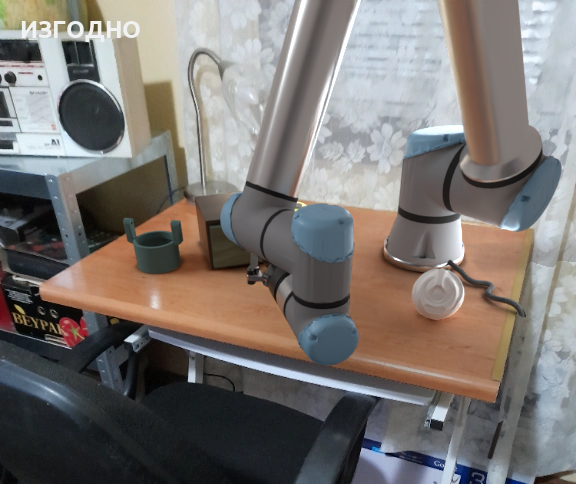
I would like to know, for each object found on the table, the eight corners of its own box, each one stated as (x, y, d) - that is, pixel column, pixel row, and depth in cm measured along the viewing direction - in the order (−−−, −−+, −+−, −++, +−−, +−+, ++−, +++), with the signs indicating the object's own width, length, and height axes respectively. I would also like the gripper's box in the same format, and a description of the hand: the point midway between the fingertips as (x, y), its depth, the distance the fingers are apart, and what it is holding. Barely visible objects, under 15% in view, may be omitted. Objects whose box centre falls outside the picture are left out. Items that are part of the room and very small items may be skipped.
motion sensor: (405, 323, 84) (411, 279, 79) (412, 300, 90) (419, 258, 85) (457, 331, 82) (466, 287, 77) (461, 307, 88) (470, 265, 83)
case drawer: (274, 262, 100) (273, 222, 95) (215, 270, 98) (211, 230, 93) (258, 235, 111) (256, 198, 106) (204, 242, 108) (199, 204, 103)
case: (274, 261, 103) (273, 212, 97) (211, 270, 100) (205, 221, 94) (258, 234, 113) (256, 189, 107) (200, 242, 110) (194, 196, 105)
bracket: (189, 266, 102) (183, 221, 96) (143, 278, 98) (134, 231, 93) (172, 250, 108) (166, 207, 102) (129, 260, 104) (119, 216, 99)
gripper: (258, 320, 80) (227, 257, 98) (338, 307, 83) (294, 248, 101) (255, 276, 76) (224, 218, 93) (340, 263, 78) (294, 209, 96)
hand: (260, 234), depth 97 cm, fingers closed
